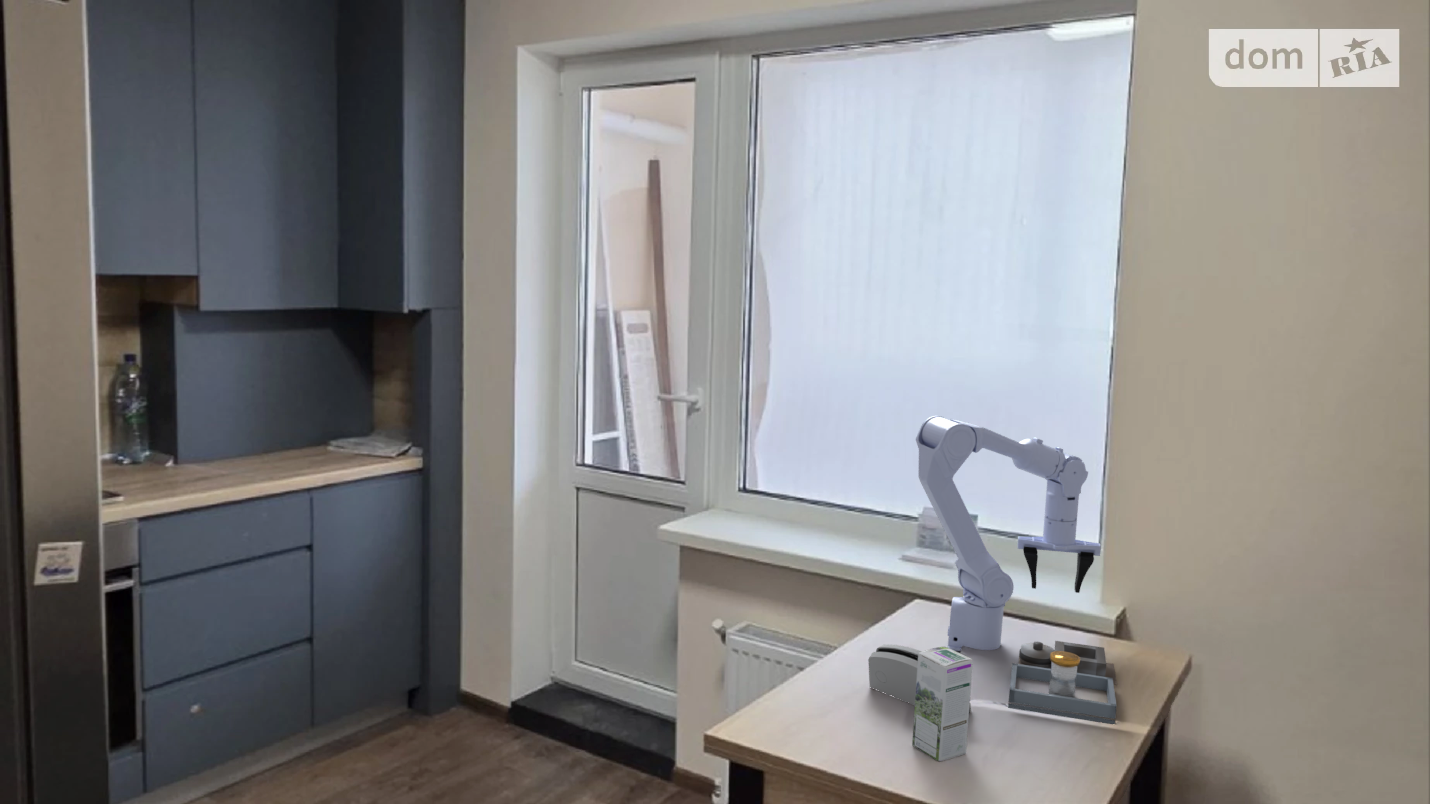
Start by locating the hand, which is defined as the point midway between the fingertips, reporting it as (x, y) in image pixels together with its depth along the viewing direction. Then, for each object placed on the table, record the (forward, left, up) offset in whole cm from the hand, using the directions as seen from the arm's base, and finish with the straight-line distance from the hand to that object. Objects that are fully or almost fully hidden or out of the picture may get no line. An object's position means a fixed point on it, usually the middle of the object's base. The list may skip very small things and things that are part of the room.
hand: (1055, 589), depth 201 cm
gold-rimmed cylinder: (+2, -27, -10) cm, 29 cm away
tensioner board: (+3, -14, -10) cm, 18 cm away
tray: (+2, -28, -10) cm, 30 cm away
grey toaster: (-21, -37, -11) cm, 44 cm away
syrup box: (-15, -53, -11) cm, 56 cm away
